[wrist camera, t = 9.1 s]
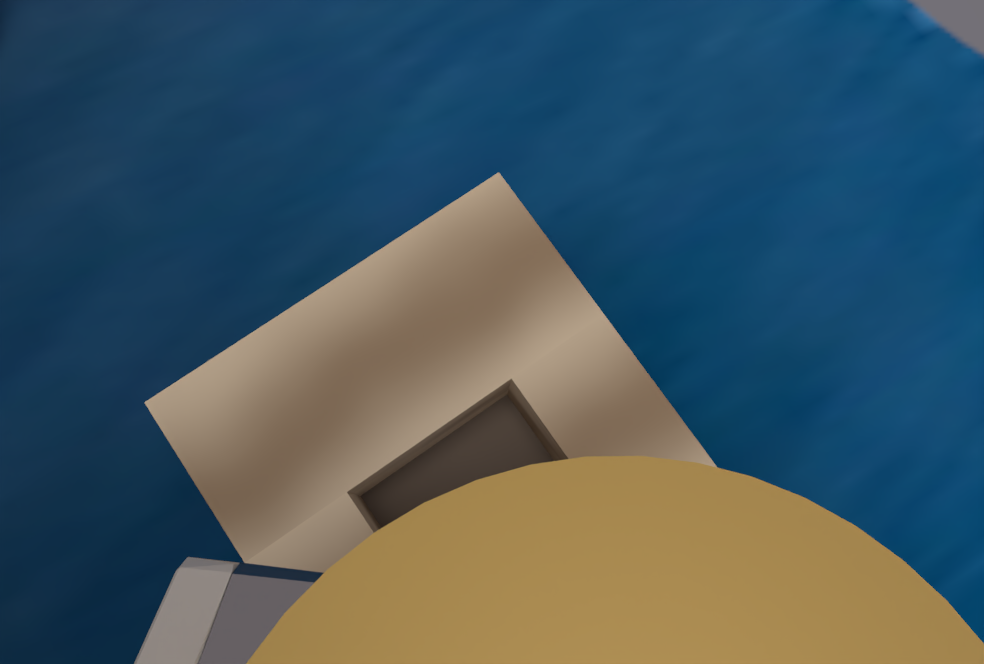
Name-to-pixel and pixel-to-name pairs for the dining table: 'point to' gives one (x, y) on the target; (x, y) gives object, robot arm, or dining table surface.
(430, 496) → the hole block
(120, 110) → the dining table surface
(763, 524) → the pin
